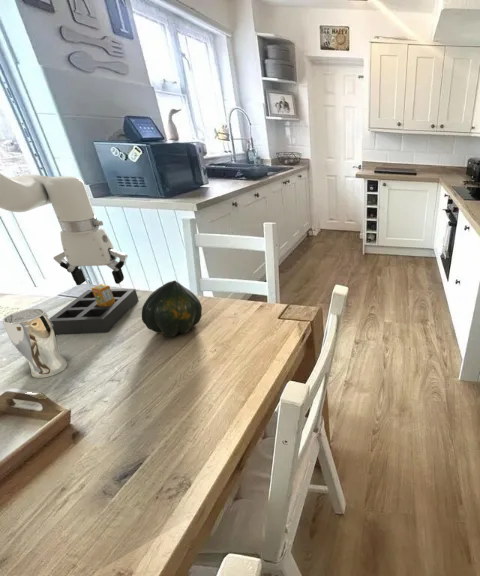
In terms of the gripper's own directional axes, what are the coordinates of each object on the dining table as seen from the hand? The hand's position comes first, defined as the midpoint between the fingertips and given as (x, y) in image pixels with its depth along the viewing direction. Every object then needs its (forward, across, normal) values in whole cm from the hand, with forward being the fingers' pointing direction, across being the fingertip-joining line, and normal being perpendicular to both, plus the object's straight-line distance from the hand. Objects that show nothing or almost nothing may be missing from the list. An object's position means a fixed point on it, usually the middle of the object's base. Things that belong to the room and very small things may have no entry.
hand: (100, 282), depth 94 cm
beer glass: (+11, +2, +25) cm, 28 cm away
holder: (+11, +4, 0) cm, 12 cm away
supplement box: (+11, +1, 0) cm, 11 cm away
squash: (+12, -20, +9) cm, 25 cm away
